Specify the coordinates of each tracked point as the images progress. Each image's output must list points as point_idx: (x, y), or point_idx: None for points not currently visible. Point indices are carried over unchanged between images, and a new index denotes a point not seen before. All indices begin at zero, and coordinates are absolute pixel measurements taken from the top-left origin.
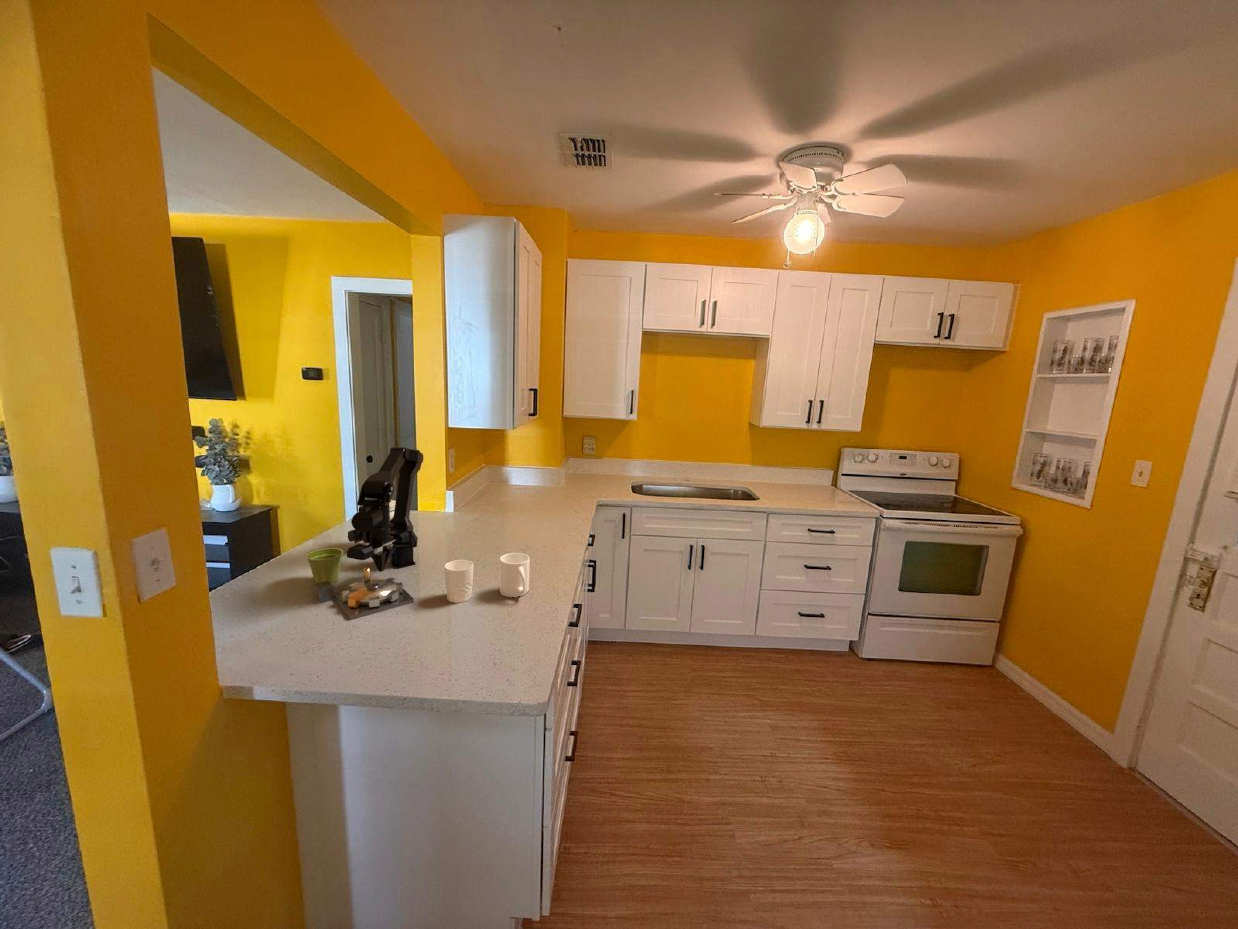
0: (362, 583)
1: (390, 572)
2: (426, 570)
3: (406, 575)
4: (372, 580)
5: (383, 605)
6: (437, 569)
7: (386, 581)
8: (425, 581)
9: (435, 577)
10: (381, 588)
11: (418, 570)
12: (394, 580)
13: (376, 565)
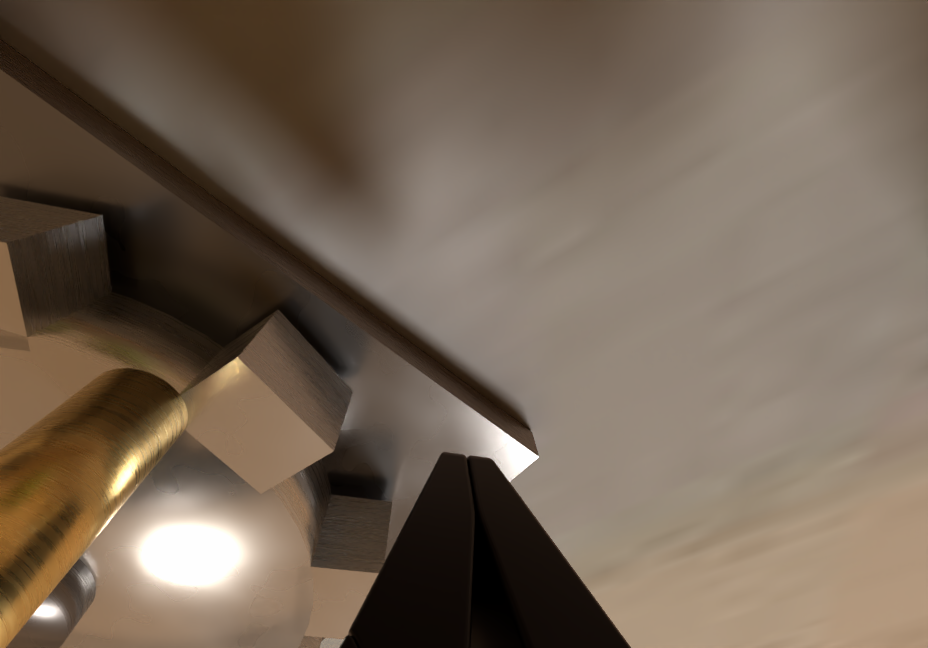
0: (43, 383)
1: (827, 253)
2: (830, 543)
3: (719, 450)
4: (209, 451)
5: None
6: (840, 599)
7: (261, 598)
8: None
9: (668, 643)
10: (74, 639)
11: (841, 489)
12: (340, 629)
13: (391, 560)
